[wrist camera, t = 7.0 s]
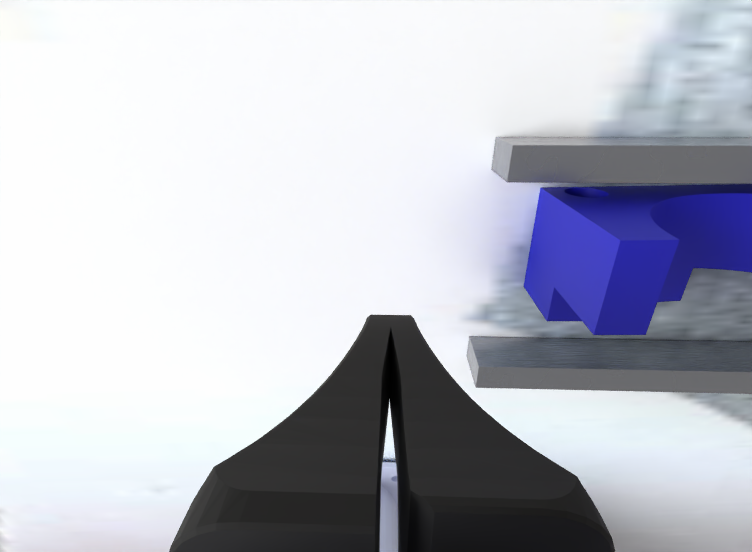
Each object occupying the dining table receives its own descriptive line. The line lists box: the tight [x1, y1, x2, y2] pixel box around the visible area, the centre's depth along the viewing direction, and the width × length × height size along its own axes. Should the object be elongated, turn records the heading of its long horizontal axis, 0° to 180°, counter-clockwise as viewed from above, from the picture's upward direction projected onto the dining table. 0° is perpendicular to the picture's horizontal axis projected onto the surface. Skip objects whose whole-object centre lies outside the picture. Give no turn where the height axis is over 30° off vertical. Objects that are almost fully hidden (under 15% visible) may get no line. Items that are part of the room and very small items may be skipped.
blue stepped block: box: [524, 184, 752, 335], centre depth 13 cm, size 12×4×6 cm, turn 91°
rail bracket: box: [467, 137, 752, 394], centre depth 15 cm, size 10×15×2 cm
